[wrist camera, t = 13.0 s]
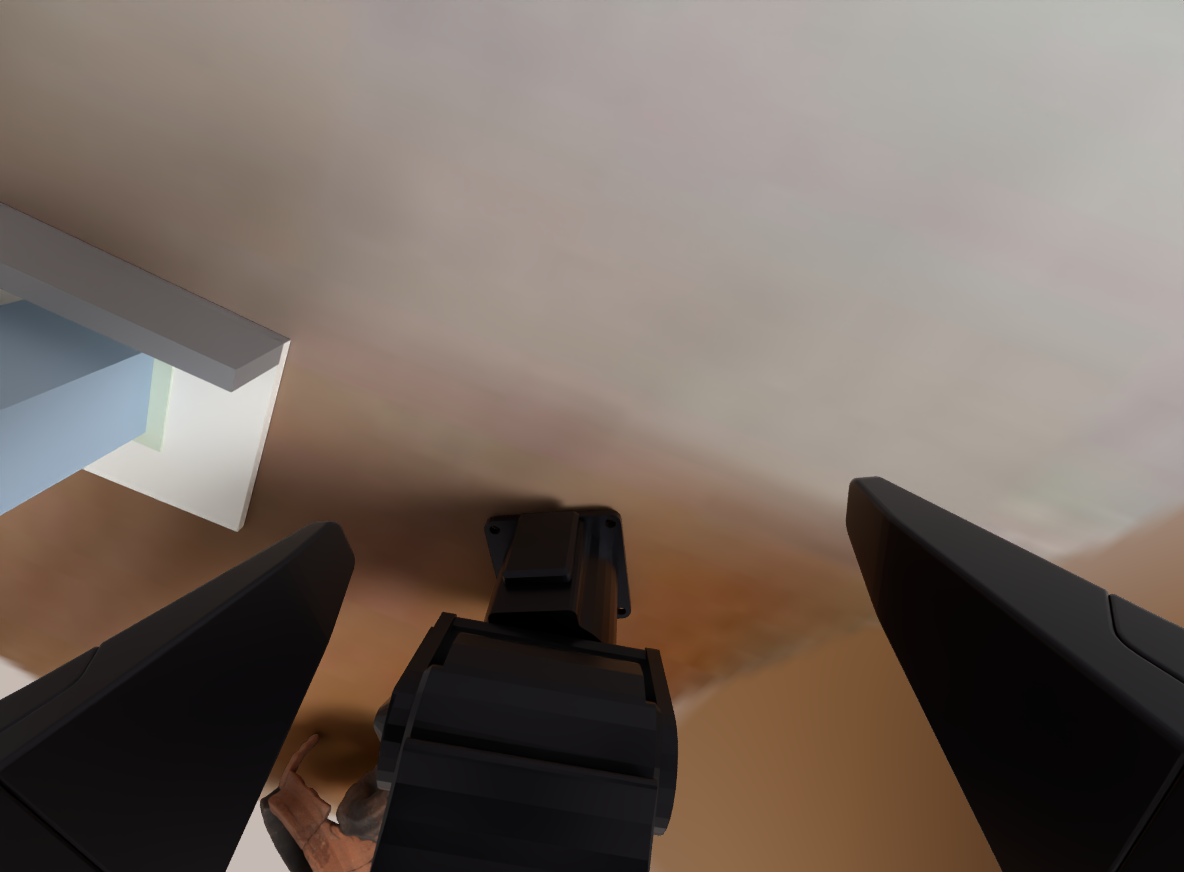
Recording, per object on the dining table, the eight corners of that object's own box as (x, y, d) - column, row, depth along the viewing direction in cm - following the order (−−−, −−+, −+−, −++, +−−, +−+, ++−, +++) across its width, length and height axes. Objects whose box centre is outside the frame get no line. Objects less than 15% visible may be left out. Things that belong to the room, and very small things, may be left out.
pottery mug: (426, 814, 40) (319, 928, 33) (353, 706, 41) (237, 796, 35) (495, 788, 32) (375, 929, 26) (403, 657, 33) (267, 761, 27)
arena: (290, 339, 22) (235, 369, 19) (243, 525, 27) (193, 573, 24) (-21, 192, 20) (-138, 199, 17) (-12, 421, 25) (-102, 458, 22)
